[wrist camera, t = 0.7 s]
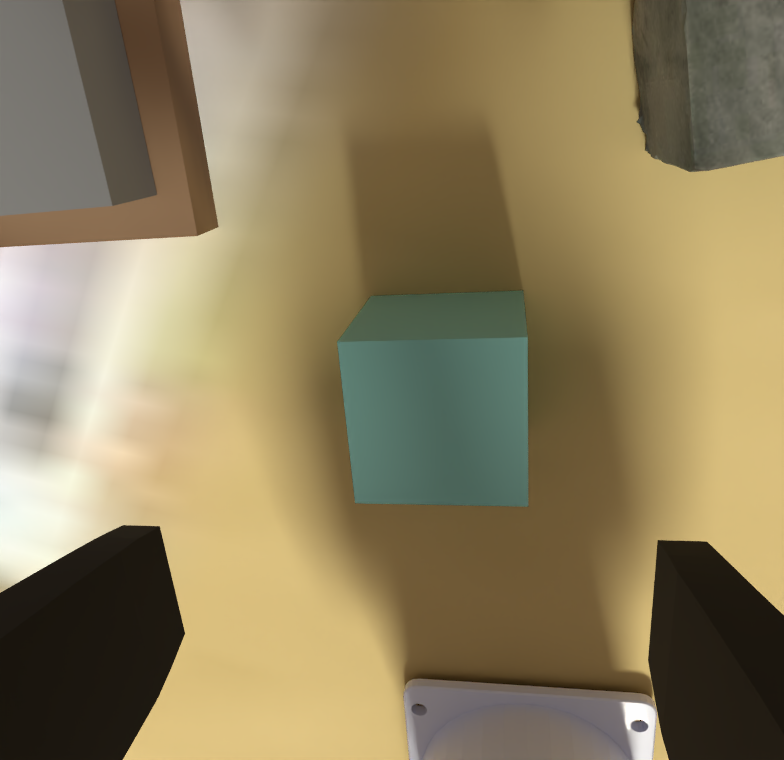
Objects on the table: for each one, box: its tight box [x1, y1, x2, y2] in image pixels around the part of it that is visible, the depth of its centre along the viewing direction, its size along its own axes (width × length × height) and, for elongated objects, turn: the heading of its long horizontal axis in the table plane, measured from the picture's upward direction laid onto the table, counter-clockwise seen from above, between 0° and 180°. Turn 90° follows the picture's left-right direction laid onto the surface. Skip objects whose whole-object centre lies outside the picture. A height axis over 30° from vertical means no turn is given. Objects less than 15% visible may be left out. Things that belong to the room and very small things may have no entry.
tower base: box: [0, 0, 218, 247], centre depth 17 cm, size 8×8×2 cm
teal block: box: [337, 290, 528, 507], centre depth 17 cm, size 4×4×4 cm
